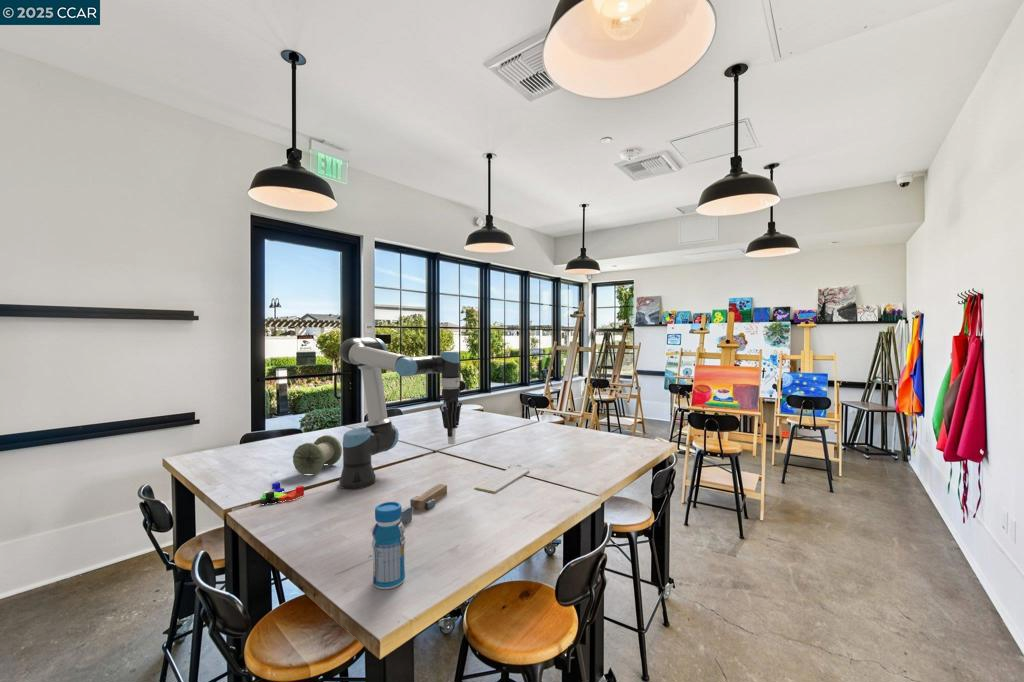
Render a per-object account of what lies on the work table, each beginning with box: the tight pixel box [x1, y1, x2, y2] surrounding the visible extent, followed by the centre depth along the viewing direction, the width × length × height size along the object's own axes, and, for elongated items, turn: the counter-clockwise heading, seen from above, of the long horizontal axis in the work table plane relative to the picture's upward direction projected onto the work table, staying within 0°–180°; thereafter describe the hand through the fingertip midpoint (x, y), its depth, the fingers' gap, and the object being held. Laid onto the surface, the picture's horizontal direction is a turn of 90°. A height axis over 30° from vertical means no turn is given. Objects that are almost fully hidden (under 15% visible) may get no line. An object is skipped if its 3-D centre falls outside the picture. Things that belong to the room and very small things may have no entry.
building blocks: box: [260, 481, 305, 506], centre depth 170 cm, size 15×13×4 cm
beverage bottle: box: [371, 501, 406, 590], centre depth 112 cm, size 8×8×20 cm
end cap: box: [400, 505, 413, 525], centre depth 148 cm, size 8×8×4 cm
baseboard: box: [473, 464, 530, 494], centre depth 190 cm, size 31×3×12 cm
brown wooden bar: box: [412, 483, 448, 512], centre depth 166 cm, size 4×18×4 cm, turn 158°
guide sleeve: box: [409, 495, 436, 511], centre depth 161 cm, size 8×4×2 cm, turn 63°
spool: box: [292, 434, 343, 475], centre depth 206 cm, size 16×15×15 cm
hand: (451, 443), depth 178 cm, fingers closed
